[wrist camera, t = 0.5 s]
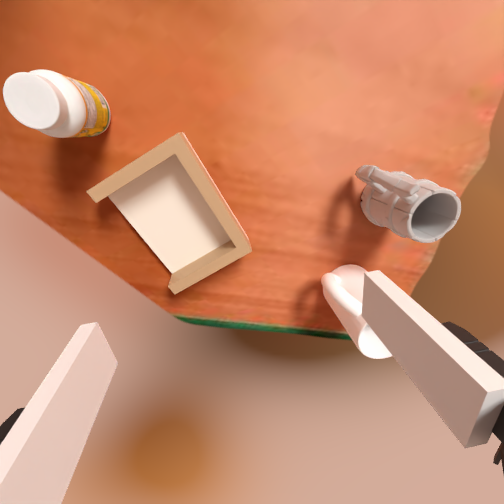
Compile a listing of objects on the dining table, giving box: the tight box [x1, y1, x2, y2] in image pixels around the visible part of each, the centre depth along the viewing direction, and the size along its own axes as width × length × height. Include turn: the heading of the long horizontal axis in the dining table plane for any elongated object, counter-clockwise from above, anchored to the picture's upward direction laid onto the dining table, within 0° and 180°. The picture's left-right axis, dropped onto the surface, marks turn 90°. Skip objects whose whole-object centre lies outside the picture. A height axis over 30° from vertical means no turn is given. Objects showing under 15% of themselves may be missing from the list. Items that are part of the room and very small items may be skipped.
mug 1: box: [321, 264, 392, 359], centre depth 38 cm, size 8×12×12 cm
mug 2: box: [355, 165, 461, 243], centre depth 32 cm, size 8×12×12 cm, turn 54°
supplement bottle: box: [3, 70, 111, 138], centre depth 25 cm, size 5×5×10 cm
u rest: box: [86, 133, 252, 294], centre depth 34 cm, size 16×12×4 cm
